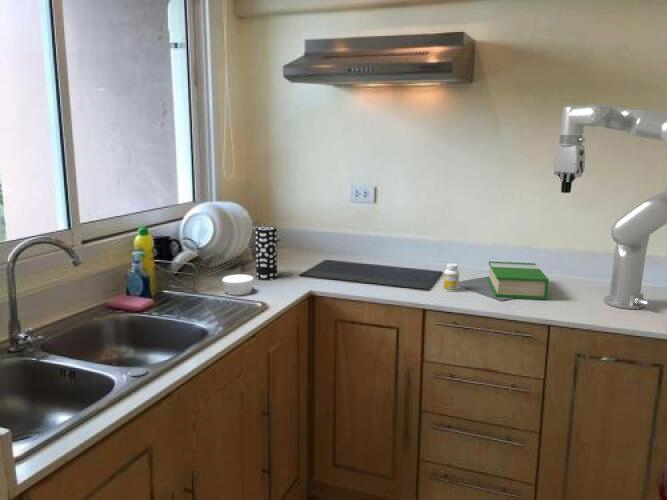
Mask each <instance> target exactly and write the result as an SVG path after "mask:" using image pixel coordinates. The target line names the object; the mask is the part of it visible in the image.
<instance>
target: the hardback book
mask: <svg viewBox="0 0 667 500" xmlns="http://www.w3.org/2000/svg"><path fill="white" fill-rule="evenodd" d="M488 265H489V276H490V277H488V276H487V277H488V278H487V280H488V282H489V284H490V286H491V288H492V290H493V292H494V294H495V296H496V297H505V298H516V299H526V300H527V299H528V300H548V291H549V281H550V280H549V277H548V276H547V275H545V273H544V272H543V271H542V270H541V268H539V266H538V265H537V264H536V263H534V262H510V261H509V262H508V261H491V260H490V261H488Z"/></svg>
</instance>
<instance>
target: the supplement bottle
mask: <svg viewBox="0 0 667 500" xmlns="http://www.w3.org/2000/svg"><path fill="white" fill-rule="evenodd" d="M458 267H459V264H457V263H447V264H446V269H445V270H444V274H443V275H444V276H443V290H444V291H446V292H457V291H459V286H458V284H459V281H460V271H459V270H458Z"/></svg>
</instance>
